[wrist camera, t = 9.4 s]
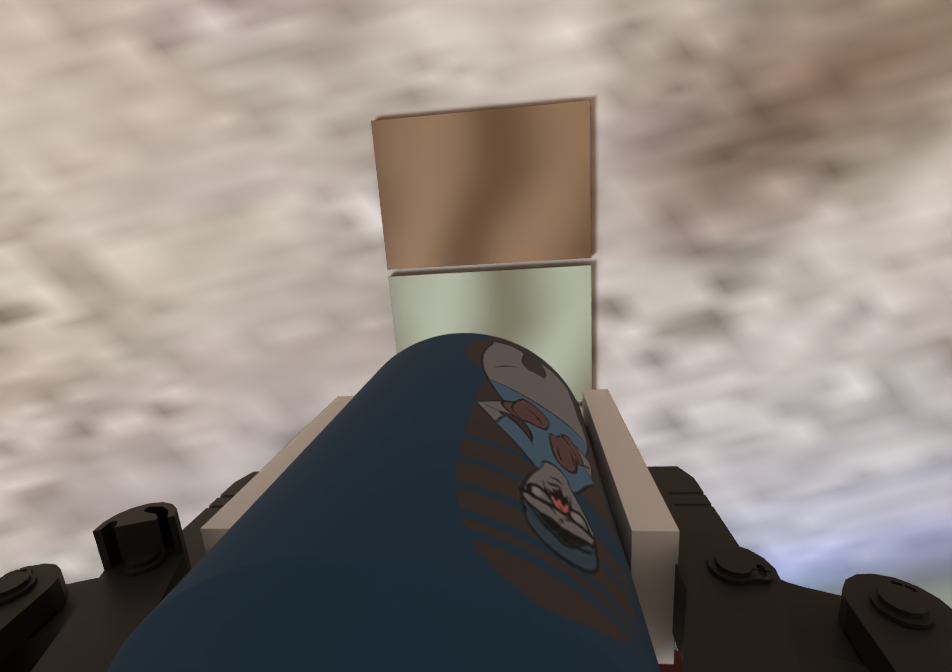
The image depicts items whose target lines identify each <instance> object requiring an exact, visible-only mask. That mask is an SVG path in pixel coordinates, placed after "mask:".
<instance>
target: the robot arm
mask: <svg viewBox="0 0 952 672" xmlns="http://www.w3.org/2000/svg"><path fill="white" fill-rule="evenodd" d="M353 397H354V396H344V397H337V398H336V399H335V400H334V401H333V402H332V403H331V404H329V405H328V406H327V407H326V408H325V409H324V410H323V411H322V412H321V413H320V414H319V415H318V416H317V417H316V418H315V419H314V420H313V421H312V422H311V423H310V424H309V425H308V426H307V427H306V428H304V429H303V430H302V431H301V432H300V433H299V434H298V435H297V436H296V437H295V438H294V439H293V440H292V441H291V442H290V443H289V444H288V445H287V446H286V447H285V448H284V449H283V450H282V451H281V452H279V453H278V454H277V455H276V456H275V457H274V458H273V459H272V460H271V461H270V462H269V463H268V464H267V465H266V466H265V467H264V468H263V469H262V470H261V471H260V472H252V473H251V474H249V475H247V476H245V477H243V478H242V479H240V480H238V481H236V482H235V483H233V484H232V485H231V486H230V487H229V488H228V489H227V490H226V491H225V492H224V493H223V494H221V497H220V498H217V499H216V500H215V501H214V502H213V503H212V504H210V505H209V508H206V509H205V510H204V511H203V512H202V513H201V514H200V515H198V516H197V517H196V518H195V519H194V520H193V521H192V522H191V523H190V524H189V525H188V526H186V527H185V528H184V529H183V530H182V528H181V524H180V520H179V516H178V512H177V509H176V507H175V506H174V505H173V504H170V503H164V502H160V503H149V504H145V505H142V506H138V507H134V508H131V509H129V510H126V511H124V512H122V513H119V514H117V515H115V516H113V517H112V518H110V519H108V520H107V521H105V522H103V523H102V524H101V525H100V526H99V527H97V528H96V529H95V530H94V531H93V534H94V537H95V540H96V544H97V547H98V550H99V554H100V557H101V560H102V564H103V567H104V572H103V573H102V575H101V576H100V577H99V578H95V579H90V580H85V581H80V582H75V583H71V584H65V581H64V578H63V575H62V572H61V569H60V568H59V567H58V566H57V565H55V564H40V565H34V566H27V567H24V568H20V569H19V570H18V569H17V570H14V571H12V572H9V573H7V574H5V575H4V576H3V577H1V578H0V672H107V670H108V668H109V666H110V664H111V662H112V661H113V659H114V657H115V656H116V654H117V653H118V651H119V650H120V648H121V646H122V645H123V644H124V642H125V641H126V640H127V639H128V637H129V636H130V635H131V634H132V632H133V631H134V630H135V629H136V628H137V627H138V626H139V625H140V623H141V622H142V621H143V620H144V619H145V618H146V617H147V616H148V615H149V614H150V613H151V612H152V611H153V610H154V609H155V608H156V606H157V605H158V604H159V603H160V602H161V601H162V600H163V599H164V598H165V597H166V596H167V595H168V594H169V593H170V592H171V591H172V589H173V588H174V587H175V586H176V585H177V584H178V583H179V582H180V581H181V580H182V579H183V578H184V577H185V576H186V575H187V574H188V572H189V571H190V570H191V569H192V568H193V567H194V566H195V565H196V564H197V563H198V562H199V561H200V560H201V559H202V558H203V557H204V555H205V554H206V553H207V552H208V551H209V550H210V549H211V548H212V547H213V546H214V545H215V544H216V543H217V542H218V541H219V540H220V538H221V537H222V536H223V535H224V534H225V533H226V532H227V531H228V530H229V529H230V528H231V527H232V526H233V525H234V524H235V523H236V522H237V520H238V519H239V518H240V517H241V516H242V515H243V514H244V513H245V512H246V511H247V510H248V509H249V508H250V507H251V506H252V505H253V503H254V502H255V501H256V500H257V499H258V498H259V497H260V496H261V495H262V494H263V493H264V492H265V491H266V490H267V489H268V488H269V486H270V485H271V484H272V483H273V482H274V481H275V480H276V479H277V478H278V477H279V476H280V475H281V474H282V473H283V472H284V471H285V469H286V468H287V467H288V466H289V465H290V464H291V463H292V462H293V461H294V460H295V459H296V458H297V457H298V456H299V455H300V454H301V452H302V451H303V450H304V449H305V448H306V447H307V446H308V445H309V444H310V443H311V442H312V441H313V440H314V439H315V438H316V437H317V435H318V434H319V433H320V432H321V431H322V430H323V429H324V428H325V427H326V426H327V425H328V424H329V423H330V422H331V421H332V420H333V418H334V417H335V416H336V415H337V414H338V413H339V412H340V411H341V410H342V409H343V408H344V407H345V406H346V405H347V404H348V403H349V401H350V400H351V399H352V398H353ZM582 409H583V419H584V422H585V426H586V429H587V432H588V435H589V439H590V442H591V445H592V448H593V452H594V455H595V458H596V462H597V465H598V468H599V471H600V475H601V478H602V481H603V484H604V488H605V491H606V494H607V497H608V501H609V504H610V507H611V511H612V514H613V517H614V520H615V524H616V527H617V530H618V533H619V537H620V540H621V543H622V547H623V550H624V553H625V556H626V560H627V563H628V566H629V569H630V573H631V576H632V579H633V582H634V586H635V589H636V592H637V596H638V599H639V602H640V605H641V609H642V612H643V615H644V618H645V622H646V625H647V628H648V632H649V635H650V638H651V641H652V645H653V648H654V651H655V654H656V658H657V661H658V664H674V643H675V642H676V645H677V647H678V650H679V653H680V656H681V658H682V661H683V665H682V672H952V609H951V608H950V607H949V606H948V605H946V604H945V603H944V602H943V601H941V600H940V599H939V598H937V597H935V596H934V595H932V594H930V593H928V592H926V591H925V590H923V589H921V588H919V587H918V586H915V585H912V584H910V583H907V582H904V581H902V580H899V579H896V578H893V577H888V576H883V575H877V574H856V575H854V576H852V577H850V578H848V579H846V580H845V583H844V586H843V589H842V595H841V596H840V595H835V594H831V593H827V592H822V591H818V590H814V589H810V588H805V587H801V586H798V585H795V584H791V583H788V582H785V581H783V580H781V579H780V578H779V576H778V574H777V571H776V569H775V568H774V567H773V566H771V565H770V564H769V563H768V562H767V561H766V560H765V559H764V558H762V557H761V556H759V555H757V554H755V553H754V552H752V551H750V550H748V549H745V548H742V547H739V545H738V544H737V542H736V541H735V539H734V537H733V536H732V534H731V533H730V531H729V530H728V528H727V527H726V525H725V524H724V522H723V521H722V519H721V518H720V516H719V515H718V513H717V512H716V510H715V509H714V507H711V503H710V501H709V500H708V498H707V497H706V495H704V494H703V491H702V489H701V488H700V486H699V485H698V483H697V482H696V480H695V479H694V478H693V477H692V476H690V475H689V474H687V473H686V472H684V471H683V470H682V469H680V468H679V467H677V466H668V467H647V466H646V464H645V462H644V460H643V458H642V456H641V454H640V452H639V450H638V448H637V446H636V444H635V442H634V440H633V438H632V436H631V434H630V432H629V430H628V428H627V426H626V424H625V422H624V420H623V418H622V416H621V414H620V412H619V410H618V408H617V406H616V404H615V402H614V400H613V399H612V397H611V395H610V393H609V391H608V389H602V390H582Z"/></svg>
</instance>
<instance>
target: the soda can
mask: <svg viewBox="0 0 952 672" xmlns="http://www.w3.org/2000/svg"><path fill="white" fill-rule="evenodd" d="M107 672H661V671H660V667H659V664H658V661H657V658H656V654H655V651H654V648H653V645H652V641H651V638H650V635H649V632H648V628H647V625H646V622H645V618H644V615H643V612H642V609H641V605H640V602H639V599H638V596H637V592H636V589H635V586H634V582H633V579H632V576H631V573H630V569H629V566H628V563H627V560H626V556H625V553H624V550H623V547H622V543H621V540H620V537H619V533H618V530H617V527H616V524H615V520H614V517H613V514H612V511H611V507H610V504H609V501H608V497H607V494H606V491H605V488H604V484H603V481H602V478H601V475H600V471H599V468H598V465H597V462H596V458H595V455H594V452H593V448H592V445H591V442H590V439H589V435H588V432H587V429H586V426H585V422H584V419H583V416H582V412H581V410H580V407H579V405H578V403H577V401H576V399H575V397H574V395H573V393H572V391H571V390H570V388H569V387H568V385H567V384H566V383H565V381H564V380H563V379H562V378H561V376H560V375H559V374H558V373H557V372H556V371H555V370H554V369H553V368H552V367H551V366H550V365H549V364H548V363H547V362H545V361H544V360H543V359H542V358H540V357H539V356H537V355H536V354H535V353H533V352H531V351H530V350H528V349H526V348H524V347H522V346H520V345H518V344H516V343H514V342H511V341H508V340H505V339H502V338H499V337H495V336H491V335H485V334H477V333H452V334H445V335H440V336H435V337H432V338H429V339H425V340H423V341H420V342H418V343H415V344H413V345H411V346H409V347H407V348H406V349H404V350H402V351H401V352H399V353H398V354H396V355H395V356H394V357H392V358H391V359H390V360H389V361H388V362H387V363H386V364H385V365H384V366H383V367H382V368H381V369H380V370H379V371H378V372H377V373H376V374H375V375H374V376H373V377H372V378H371V379H370V380H369V381H368V382H367V383H366V385H365V386H364V387H363V388H362V389H361V390H360V391H359V392H358V393H357V394H356V395H355V396H354V397H353V398H352V399H351V400H350V401H349V403H348V404H347V405H346V406H345V407H344V408H343V409H342V410H341V411H340V412H339V413H338V414H337V415H336V416H335V417H334V418H333V420H332V421H331V422H330V423H329V424H328V425H327V426H326V427H325V428H324V429H323V430H322V431H321V432H320V433H319V434H318V435H317V437H316V438H315V439H314V440H313V441H312V442H311V443H310V444H309V445H308V446H307V447H306V448H305V449H304V450H303V451H302V452H301V454H300V455H299V456H298V457H297V458H296V459H295V460H294V461H293V462H292V463H291V464H290V465H289V466H288V467H287V468H286V469H285V471H284V472H283V473H282V474H281V475H280V476H279V477H278V478H277V479H276V480H275V481H274V482H273V483H272V484H271V485H270V486H269V488H268V489H267V490H266V491H265V492H264V493H263V494H262V495H261V496H260V497H259V498H258V499H257V500H256V501H255V502H254V503H253V505H252V506H251V507H250V508H249V509H248V510H247V511H246V512H245V513H244V514H243V515H242V516H241V517H240V518H239V519H238V520H237V522H236V523H235V524H234V525H233V526H232V527H231V528H230V529H229V530H228V531H227V532H226V533H225V534H224V535H223V536H222V537H221V538H220V540H219V541H218V542H217V543H216V544H215V545H214V546H213V547H212V548H211V549H210V550H209V551H208V552H207V553H206V554H205V555H204V557H203V558H202V559H201V560H200V561H199V562H198V563H197V564H196V565H195V566H194V567H193V568H192V569H191V570H190V571H189V572H188V574H187V575H186V576H185V577H184V578H183V579H182V580H181V581H180V582H179V583H178V584H177V585H176V586H175V587H174V588H173V589H172V591H171V592H170V593H169V594H168V595H167V596H166V597H165V598H164V599H163V600H162V601H161V602H160V603H159V604H158V605H157V606H156V608H155V609H154V610H153V611H152V612H151V613H150V614H149V615H148V616H147V617H146V618H145V619H144V620H143V621H142V622H141V623H140V625H139V626H138V627H137V628H136V629H135V630H134V631H133V632H132V634H131V635H130V636H129V637H128V639H127V640H126V641H125V642H124V644H123V645H122V646H121V648H120V650H119V651H118V653H117V654H116V656H115V657H114V659H113V661H112V662H111V664H110V666H109V668H108V670H107Z"/></svg>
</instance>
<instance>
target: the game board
mask: <svg viewBox="0 0 952 672" xmlns="http://www.w3.org/2000/svg"><path fill="white" fill-rule="evenodd" d="M371 125H372V134H373V143H374V152H375V161H376V170H377V179H378V188H379V197H380V206H381V215H382V224H383V233H384V242H385V251H386V260H387V269H388V270H390V269H407V268H424V267H442V266H459V265H476V264H493V263H511V262H528V261H545V260H562V259H579V258H591V179H590V100H588V101H578V102H567V103H556V104H545V105H535V106H524V107H513V108H503V109H492V110H481V111H471V112H460V113H449V114H439V115H428V116H417V117H406V118H396V119H385V120H374V121H371ZM388 278H389V287H390V296H391V305H392V314H393V323H394V332H395V341H396V350H397V354H398V353H399V352H401V351H402V350H404V349H406V348H407V347H409V346H411V345H413V344H415V343H418V342H420V341H423V340H425V339H429V338H432V337H435V336H440V335H445V334H452V333H477V334H485V335H491V336H495V337H499V338H502V339H505V340H508V341H511V342H514V343H516V344H518V345H520V346H522V347H524V348H526V349H528V350H530V351H531V352H533V353H535V354H536V355H537V356H539V357H540V358H542V359H543V360H544V361H545V362H547V363H548V364H549V365H550V366H551V367H552V368H553V369H554V370H555V371H556V372H557V373H558V374H559V375H560V376H561V378H562V379H563V380H564V381H565V383H566V384H567V385H568V387H569V388H570V390H571V391H572V393H573V395H574V397H575V399H576V400H582V390H592V342H591V265H580V266H562V267H545V268H527V269H509V270H492V271H474V272H456V273H438V274H421V275H403V276H389V277H388ZM579 407H580V410H581V412H582V416H583V409H582V405H579Z"/></svg>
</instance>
